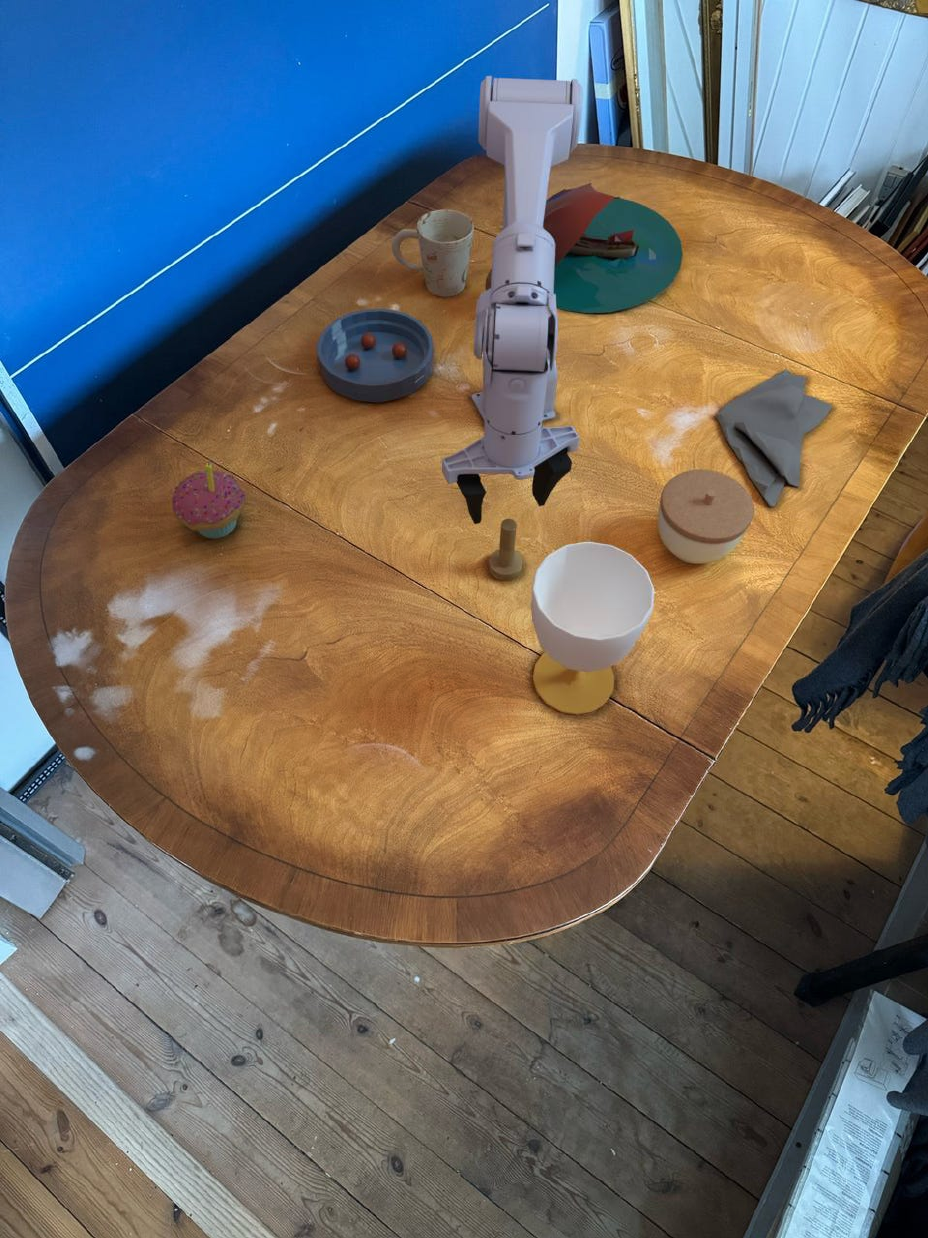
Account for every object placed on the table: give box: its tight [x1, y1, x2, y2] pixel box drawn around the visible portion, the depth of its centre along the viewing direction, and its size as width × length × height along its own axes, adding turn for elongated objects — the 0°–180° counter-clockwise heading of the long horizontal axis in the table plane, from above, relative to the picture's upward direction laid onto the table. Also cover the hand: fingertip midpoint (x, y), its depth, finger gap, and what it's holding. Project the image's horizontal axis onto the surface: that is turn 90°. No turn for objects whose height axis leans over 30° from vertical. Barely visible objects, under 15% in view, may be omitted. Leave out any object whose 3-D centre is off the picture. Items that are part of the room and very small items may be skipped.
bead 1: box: [345, 354, 360, 370], centre depth 125 cm, size 2×2×2 cm
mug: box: [391, 209, 475, 298], centre depth 134 cm, size 8×13×10 cm, turn 78°
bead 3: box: [392, 343, 407, 359], centre depth 127 cm, size 2×2×2 cm
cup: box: [530, 541, 655, 715], centre depth 92 cm, size 12×12×17 cm
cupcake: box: [171, 459, 246, 539], centre depth 106 cm, size 9×8×12 cm
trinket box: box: [657, 468, 755, 565], centre depth 106 cm, size 11×11×9 cm
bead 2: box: [361, 333, 376, 349], centre depth 128 cm, size 2×2×2 cm
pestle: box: [488, 518, 523, 581], centre depth 104 cm, size 4×4×8 cm
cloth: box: [716, 368, 833, 508], centre depth 120 cm, size 26×14×2 cm, turn 151°
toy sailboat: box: [543, 182, 683, 314], centre depth 138 cm, size 28×28×11 cm
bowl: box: [316, 308, 435, 403], centre depth 126 cm, size 16×16×4 cm
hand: (506, 508), depth 99 cm, fingers open, 7 cm apart
